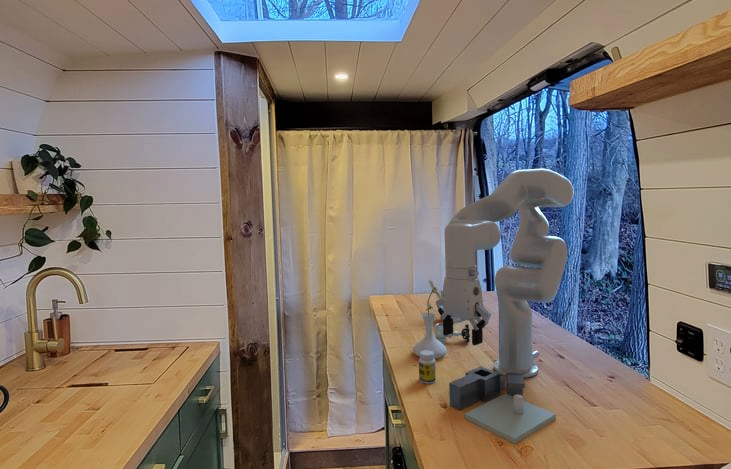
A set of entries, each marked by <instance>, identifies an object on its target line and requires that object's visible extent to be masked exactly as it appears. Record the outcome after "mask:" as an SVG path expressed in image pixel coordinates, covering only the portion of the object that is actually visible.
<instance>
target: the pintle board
mask: <svg viewBox="0 0 731 469" xmlns="http://www.w3.org/2000/svg"><path fill="white" fill-rule="evenodd" d="M524 379H525V378H523V375H522V373H508V372H506V376H505V390H506V392H505V393H503V394H502V395H500V396H498V397H496V398H494V399H492V400H490V401H488V402H486V403H484V404H481V405H480V406H477V407H475V408H473V409H470V410H469V411H467V412H465V413H464V419H465V420H468V421H469V422H471V423H473V424H475V425H477V426H479V427H481V428H483V429H485V430H487V431H489V432H491V433H493V434H494V435H497V436H499V437H500V438H503V439H504V440H506V441H508V442H510V443H513V444H514V445H516V444H517V443H519V442H520V441H522V440H523V439H526V438H527V437H529V436H530V435H532V434H534V433H535V432H537V431H538V430H540V429H542V428H543V427H545V426H547V425H548V424H551V422H553V421H555V420H556V419H557V414H556V413H553V412H552V411H549V410H546V409H545V408H542V407H540V406H537V405H535V404H533V403H530V402H527V401H525V400H524V389H526V382H525V380H524Z"/></svg>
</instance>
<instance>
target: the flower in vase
mask: <svg viewBox="0 0 731 469" xmlns="http://www.w3.org/2000/svg"><path fill="white" fill-rule="evenodd" d="M433 282H434V281H432V280H431V279H429V280H428V283H429V285H430V287H431V292H430V293H429V296H428V299H427V301H426V303H427V308H426V309H425V311H427V312H424V313H421V314H420V316H421V317H422V319H423V320H424V325H425V336H424V337H423V338H422V339H421V340H419V341H418V342H417V343H415V345H414V346H413V347H412V352H413V354H414V355H415V356H416V357H419V358H420V352H421V351H424V350H429V351H432V352H434V359H437V358H440V357H443V356H446V354H447V352H448V350H447V347H446V346H445V345H444V344H442V343H441V342H440V341H438V340H437V339H436V337H435V335H434V332H433V326H434V322H435V318H436V317H437V313H435V312H434V313H433V312H430V310H432V309H433V306H432V305H431V304H430V298H431V297H432V294H433V293H435V295H436V296H437V298H438V300H439V299H442V297H441V293H440V292H439V291H438V288H437V287H436V286H434V283H433Z"/></svg>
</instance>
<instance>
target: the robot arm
mask: <svg viewBox="0 0 731 469" xmlns="http://www.w3.org/2000/svg"><path fill="white" fill-rule="evenodd" d="M574 191H575V190H574V187H573V184H572V182H571V181H570V180H569V179H568V178H567V177H565V176H564V175H561V174H560V173H558V172H556V171H553V170H551V169H548V168H534V169H532V168H531V169H517V170H514V171H511V172H510V173H509V174H508V175H507V176H506V177H505V178H504V179H503V180H501V182H500V183H499V185H498V186H497V187H496V188H494V190H493V191H492V192H491V194H489V195H486V196H484V197H482V198H480V199H478V200H476V201H474V202H472V203H470V204H468V205H465V206H464V207H463V208H461V209H460V210H459V211H458V212H457V213H456V214H455V215H454V216H453V217H452V218H451V219H450V221H449V222H448V224H447V225H446V226H445V228H444V257H445V258H444V265H445V266H444V267H445V268H444V269H445V276H444V279H443V285H442V290H443V298H442V299H439V298H438V300H435V305H436V308H437V312H438V313H439V315H440V319H441V321H442V323H443V335H445V336H446V335H449V334H452V333H453V332H454V323H453V318H451V317H452V316H453V317H457V318H460V319H464V320H465V321H468V322H469V323H470V324H471V326H472V327H473V329H471V344H472V346H475V347H476V346H478V345H480V344H482V343H483V341H484V340H483V337H484V335H483V330H484V328H485V327H486V325H488V323H489V321H490V319H491V317H492V313H491V312H489V310H487V309H486V308H485V307H484V300H483V293H482V292H483V291H482V285H481V282H480V279H479V278H477V277H479V275H480V273H479V270H477V254H476V253H477V251H480V250H481V251H483V250H484V251H488V250H491V249H494V248H495V247H496V246H497V245H498V244H499V243H500V241H501V238H502V232H501V229H500V226H499V225H498V224H497V222H501V221H504V220H508V219H510V218H512V217H513V216H514V215H516V213H517V211H518V212H519V218H520V221H519V225H518V227H517V228H518V229H517V232H516V234H515V237H514V239H513V242H512V246H511V249H510V253H509V255H510V259H511V261H512V262H513V263H514V264H516V265H504V266H502V267H500V268H499V269H498V270H497V271H496V273H495V275H494V276H495V277H494V287H495V291H496V297H497V303H498V360H495V361H494V363H493V369H494V371H495V372H498V373H500V375H501V376H504V377H506V372H508V373H522V375H523V379H525V378H527V379H528V378H531V377H532V378H533V377H534V376H535V375H537V374H539V373H538V372H539V367H538V365H536V363H534V361H535V359H536V358H539V357H540V356H541V354H540V352H539V351H538V350H534V351H533V311H532V309H531V306H530V304H529V302H534V303H543V304H546V303H551V302H552V301H554V299H555V298H556V296H557V294H558V291H559V288H560V284H561V281H562V277H563V275H564V271H565V268H566V265H567V260H568V246H567V243H566V242H565V240H564V239H562V238H561V237H558V236H553V235H552V236H551V235H548V231H549V228H550V226H549V225H550V224H549V221H548V220H547V218H546V216H545V215H544V214H543V212H542V211H541V209H540V208H563V207H567V206H568V205H569V204H571V202H572V201H573V198H574V195H575V193H574ZM528 301H529V302H528Z"/></svg>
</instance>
